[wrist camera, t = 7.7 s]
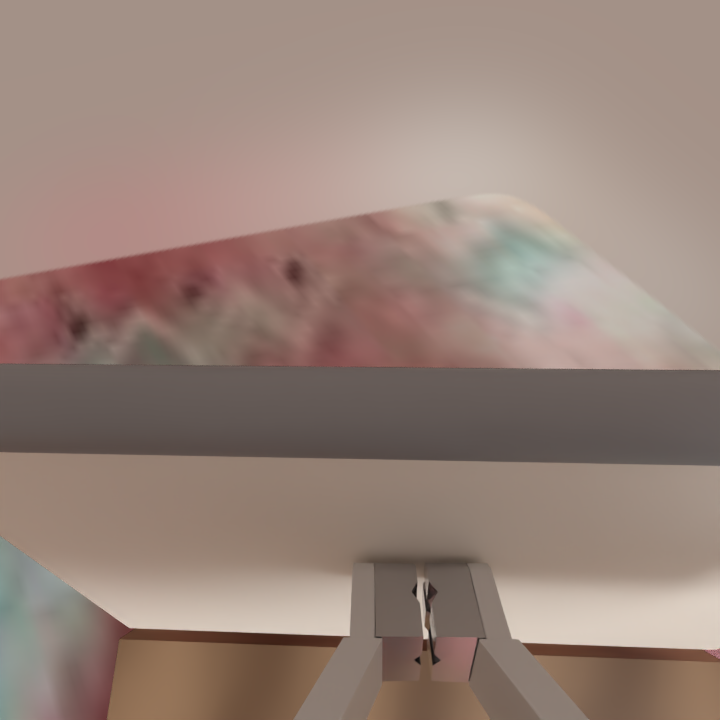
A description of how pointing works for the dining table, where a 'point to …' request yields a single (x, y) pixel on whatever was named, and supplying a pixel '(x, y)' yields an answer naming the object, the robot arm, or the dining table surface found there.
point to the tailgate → (370, 492)
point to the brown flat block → (395, 698)
